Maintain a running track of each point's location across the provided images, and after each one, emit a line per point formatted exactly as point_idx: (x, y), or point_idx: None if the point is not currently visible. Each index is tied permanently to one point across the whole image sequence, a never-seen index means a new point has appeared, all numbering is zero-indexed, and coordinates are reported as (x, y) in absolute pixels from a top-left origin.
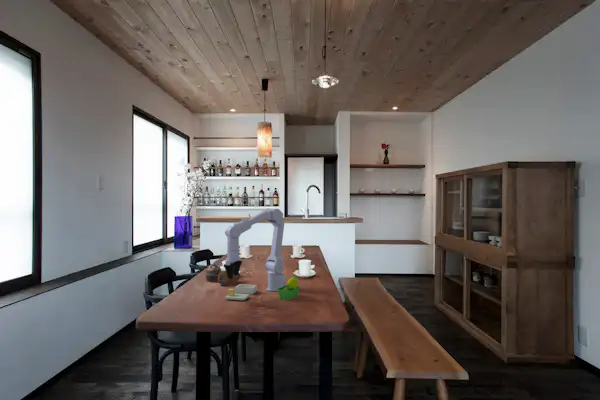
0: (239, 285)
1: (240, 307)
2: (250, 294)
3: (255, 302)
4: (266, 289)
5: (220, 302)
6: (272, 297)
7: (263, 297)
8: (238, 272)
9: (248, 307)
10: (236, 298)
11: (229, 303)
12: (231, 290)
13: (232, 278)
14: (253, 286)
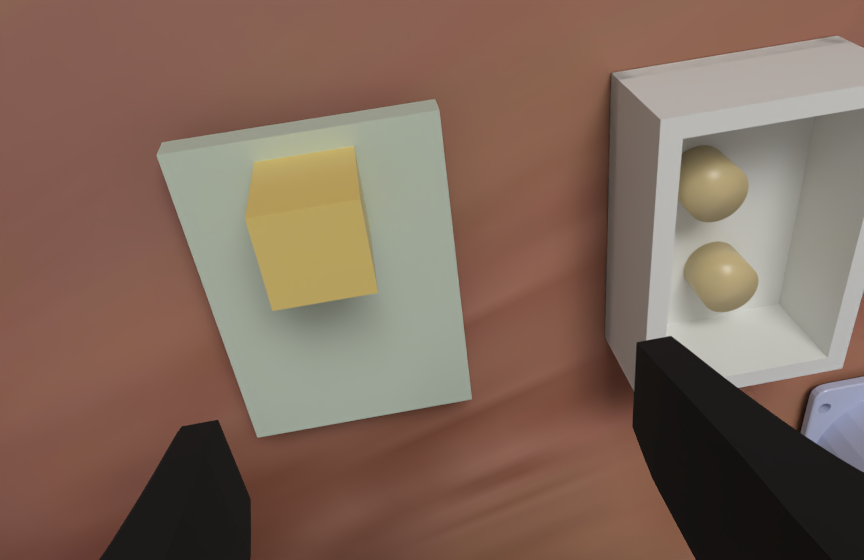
0: (833, 108)
1: (14, 478)
2: (605, 311)
3: (288, 507)
4: (840, 394)
5: (20, 131)
6: (539, 545)
7: (514, 483)
8: (672, 505)
9: (74, 537)
10: (223, 334)
11: (68, 286)
12: (267, 282)
13: (246, 503)
14: (820, 316)
